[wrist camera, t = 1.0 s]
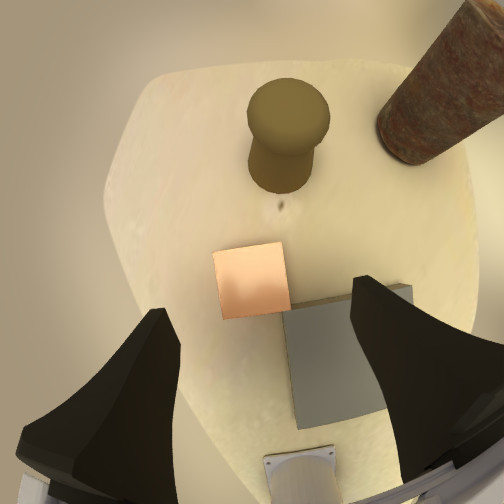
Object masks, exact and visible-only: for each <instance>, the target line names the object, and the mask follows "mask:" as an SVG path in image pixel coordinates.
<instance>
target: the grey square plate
mask: <svg viewBox="0 0 504 504" xmlns="http://www.w3.org/2000/svg"><path fill="white" fill-rule="evenodd" d="M386 287H387V288H388V289H390V290H391V291H393V292H394V293H396V294H397V295H399V296H400V297H402V298H403V299H405V300H406V301H408V302H409V303H411V304H412V305H413V291H412V285H406V284H401V283H399V284H395V285H390V286H386ZM351 299H352V294H348V295H342V296H337V297H332V298H327V299H321V300H315V301H310V302H304V303H298V304H292V305H291V310H288V311H282V318H283V325H284V332H285V340H286V347H287V355H288V362H289V370H290V378H291V386H292V394H293V402H294V410H295V418H296V423H297V428H298V430H300V429H306V428H311V427H316V426H321V425H326V424H331V423H335V422H339V421H344V420H348V419H352V418H355V417H359V416H363V415H366V414H370V413H373V412H376V411H380V410H383V409H386V408H387V406H386V402H385V399H384V396H383V393H382V390H381V388H380V385H379V383H378V381H377V379H376V377H375V374H374V372H373V370H372V368H371V366H370V364H369V362H368V360H367V358H366V356H365V354H364V352H363V350H362V348H361V346H360V344H359V342H358V340H357V337H356V335H355V332H354V329H353V326H352V323H351V320H350V309H351Z"/></svg>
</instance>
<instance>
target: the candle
mask: <svg viewBox="0 0 504 504" xmlns="http://www.w3.org/2000/svg"><path fill="white" fill-rule="evenodd" d="M503 114H504V8H503V7H502V6H501V5H499V4H498V3H497V2H495V1H494V0H465V2H464V3H463V4H462V6H461V7H460V8H459V10H458V11H457V12H456V14H455V15H454V16H453V18H452V19H451V20H450V22H449V23H448V24H447V26H446V27H445V28H444V30H443V31H442V32H441V34H440V35H439V36H438V38H437V39H436V40H435V41H434V43H433V44H432V45H431V47H430V48H429V49H428V51H427V52H426V54H425V55H424V56H423V57H422V59H421V60H420V61H419V62H418V64H417V65H416V66H415V68H414V69H413V70H412V71H411V73H410V74H409V75H408V76H407V78H406V79H405V80H404V81H403V83H402V84H401V85H400V86H399V87H398V89H397V90H396V91H395V93H394V94H393V95H392V97H391V98H390V99H389V100H388V102H387V103H386V104H385V105H384V107H383V108H382V109H381V111H380V113H379V115H378V127H379V130H380V134H381V137H382V139H383V141H384V143H385V144H386V146H387V148H388V149H389V150H390V151H391V152H392V153H394V154H395V155H396V156H397V157H399V158H400V159H402V160H403V161H405V162H407V163H411V164H415V165H421V164H424V163H426V162H427V161H429V160H431V159H433V158H434V157H436V156H438V155H439V154H441V153H443V152H444V151H446V150H448V149H449V148H451V147H452V146H454V145H456V144H457V143H459V142H460V141H462V140H463V139H465V138H467V137H468V136H470V135H471V134H473V133H474V132H476V131H477V130H479V129H481V128H482V127H484V126H485V125H487V124H489V123H490V122H491V121H493V120H495V119H497V118H498V117H500V116H502V115H503Z"/></svg>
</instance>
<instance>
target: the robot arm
mask: <svg viewBox="0 0 504 504" xmlns="http://www.w3.org/2000/svg"><path fill="white" fill-rule="evenodd" d="M350 320H351V323H352V326H353V329H354V332H355V335H356V337H357V340H358V342H359V344H360V346H361V348H362V350H363V352H364V354H365V356H366V358H367V360H368V362H369V364H370V366H371V368H372V370H373V372H374V374H375V377H376V379H377V381H378V383H379V385H380V388H381V390H382V393H383V396H384V399H385V402H386V406H387V409H388V412H389V416H390V420H391V423H392V427H393V431H394V436H395V440H396V445H397V450H398V457H399V463H400V471H401V478H402V481H403V485H401V486H398V487H396V488H393V489H391V490H388V491H386V492H383V493H380V494H378V495H375V496H372V497H369V498H366V499H363V500H360V501H356V502H353V503H349V504H401V503H403V502H405V501H407V500H410V499H412V498H414V497H416V496H418V495H420V494H421V495H420V496H419V497H418V500H417V502H416V503H415V504H503V503H504V345H503V344H499V343H495V342H492V341H488V340H485V339H482V338H479V337H476V336H473V335H471V334H468V333H466V332H463V331H461V330H459V329H456V328H454V327H452V326H450V325H448V324H446V323H444V322H442V321H440V320H438V319H436V318H434V317H432V316H430V315H429V314H427V313H425V312H424V311H422V310H420V309H419V308H417V307H415V306H414V305H412V304H411V303H409V302H408V301H406V300H405V299H403V298H402V297H400V296H399V295H397V294H396V293H394V292H393V291H391V290H390V289H388V288H387V287H385V286H384V285H382V284H381V283H379V282H378V281H376V280H375V279H373V278H372V277H370V276H368V275H365V276H360V277H355V278H353V288H352V299H351V309H350ZM180 351H181V344H180V342H179V339H178V337H177V335H176V333H175V330H174V328H173V326H172V324H171V321H170V319H169V317H168V314H167V312H166V309H165V308H157V309H150V310H149V312H148V313H147V314H146V315H145V316H144V318H143V319H142V320H141V321H140V323H139V324H138V325H137V326H136V328H135V329H134V330H133V332H132V333H131V334H130V335H129V337H128V338H127V339H126V340H125V342H124V343H123V344H122V345H121V347H120V348H119V349H118V350H117V351H116V352H115V354H114V355H113V356H112V357H111V359H109V361H108V362H107V363H106V364H105V365H104V366H103V367H102V369H101V370H100V371H99V372H98V373H97V374H96V375H95V376H94V377H93V378H92V379H91V380H90V381H89V382H88V383H87V384H85V385H84V386H83V387H82V388H81V389H80V390H78V391H77V392H76V393H75V394H74V395H72V396H71V397H70V398H69V399H68V400H66V401H65V402H64V403H62V404H61V405H60V406H58V407H57V408H55V409H54V410H52V411H51V412H49V413H48V414H46V415H45V416H43V417H41V418H39V419H38V420H36V421H34V422H32V423H30V424H29V425H27V426H25V427H24V428H23V431H22V434H21V437H20V440H19V443H18V446H17V450H16V456H17V457H18V458H19V459H20V460H21V461H22V462H24V463H25V464H27V465H28V466H30V467H31V468H33V469H34V470H36V471H38V472H39V473H41V474H43V475H44V476H46V477H48V478H50V479H51V480H50V484H48V483H46V482H43V481H41V480H39V479H37V478H35V477H33V476H31V475H28V474H26V473H24V474H23V478H22V482H21V486H20V491H19V496H18V501H17V504H178V499H177V493H176V486H175V478H174V468H173V453H172V420H173V411H174V404H175V397H176V390H177V384H178V377H179V370H180ZM330 452H332V453H330ZM263 462H264V467H265V471H266V476H267V481H268V485H269V490H270V495H271V504H344V503H343V500H342V496H341V493H340V490H339V487H338V484H337V481H336V478H335V475H336V449H335V446H326V447H322V448H317V449H311V450H306V451H300V452H294V453H287V454H279V455H271V456H265V457H264V458H263ZM267 462H270V463H267ZM422 493H423V494H422Z"/></svg>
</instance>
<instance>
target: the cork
mask: <svg viewBox="0 0 504 504" xmlns="http://www.w3.org/2000/svg"><path fill="white" fill-rule="evenodd" d="M247 118H248V126H249V128H250V130H251V132H252V134H253V136H254V138H253V142H252V146H251V150H250V154H249V159H248V167H249V172H250V174H251V176H252V179H253V180H254V181H255V182H256V183H257V184H258V185H259V186H260V187H261V188H263V189H265V190H266V191H268V192H272V193H276V194H285V193H291V192H293V191H296V190H298V189H299V188H301V187H302V186H303V185H304V184H305V183H306V182H307V180H308V178H309V177H310V175H311V170H312V164H313V155H314V147H315V146H317V145H318V144H319V143H321V141H322V140H323V138H324V136H325V135H326V133H327V131H328V129H329V123H330V112H329V107H328V104H327V102H326V100H325V99H324V97H323V96H322V94H321V93H320V92H319V91H318V90H317V89H315V88H314V87H313V86H312V85H310V84H308V83H306V82H304V81H302V80H298V79H293V78H280V79H276V80H273V81H270V82H268V83H266V84H265V85H263V86H261V87H260V88H258V89H257V91H256V92H255V93H254V94H253V96H252V97H251V100H250V102H249V106H248V109H247Z"/></svg>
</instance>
